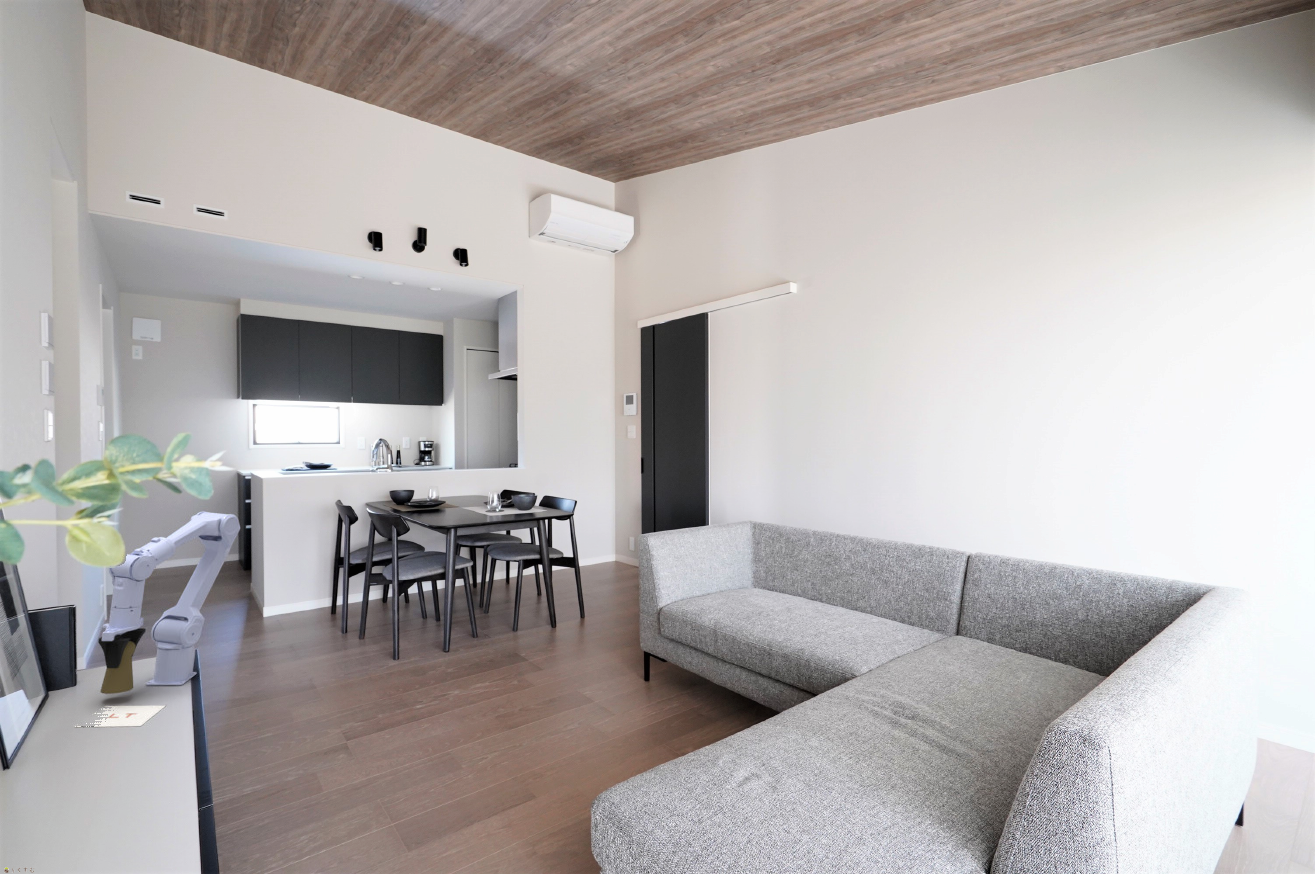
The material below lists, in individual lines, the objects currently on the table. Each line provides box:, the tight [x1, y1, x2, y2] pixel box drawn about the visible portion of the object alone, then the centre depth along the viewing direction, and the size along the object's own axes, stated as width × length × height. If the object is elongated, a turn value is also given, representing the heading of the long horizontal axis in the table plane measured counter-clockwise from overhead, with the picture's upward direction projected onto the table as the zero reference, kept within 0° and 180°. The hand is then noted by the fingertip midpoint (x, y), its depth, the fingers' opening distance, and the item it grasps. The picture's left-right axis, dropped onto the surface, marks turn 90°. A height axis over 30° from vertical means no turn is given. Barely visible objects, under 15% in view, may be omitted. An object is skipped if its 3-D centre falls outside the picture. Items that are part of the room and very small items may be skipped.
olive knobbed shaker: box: [100, 641, 137, 695], centre depth 154 cm, size 6×6×11 cm
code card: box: [74, 705, 166, 728], centre depth 146 cm, size 12×12×1 cm
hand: (119, 664), depth 155 cm, fingers closed on olive knobbed shaker, 5 cm apart
